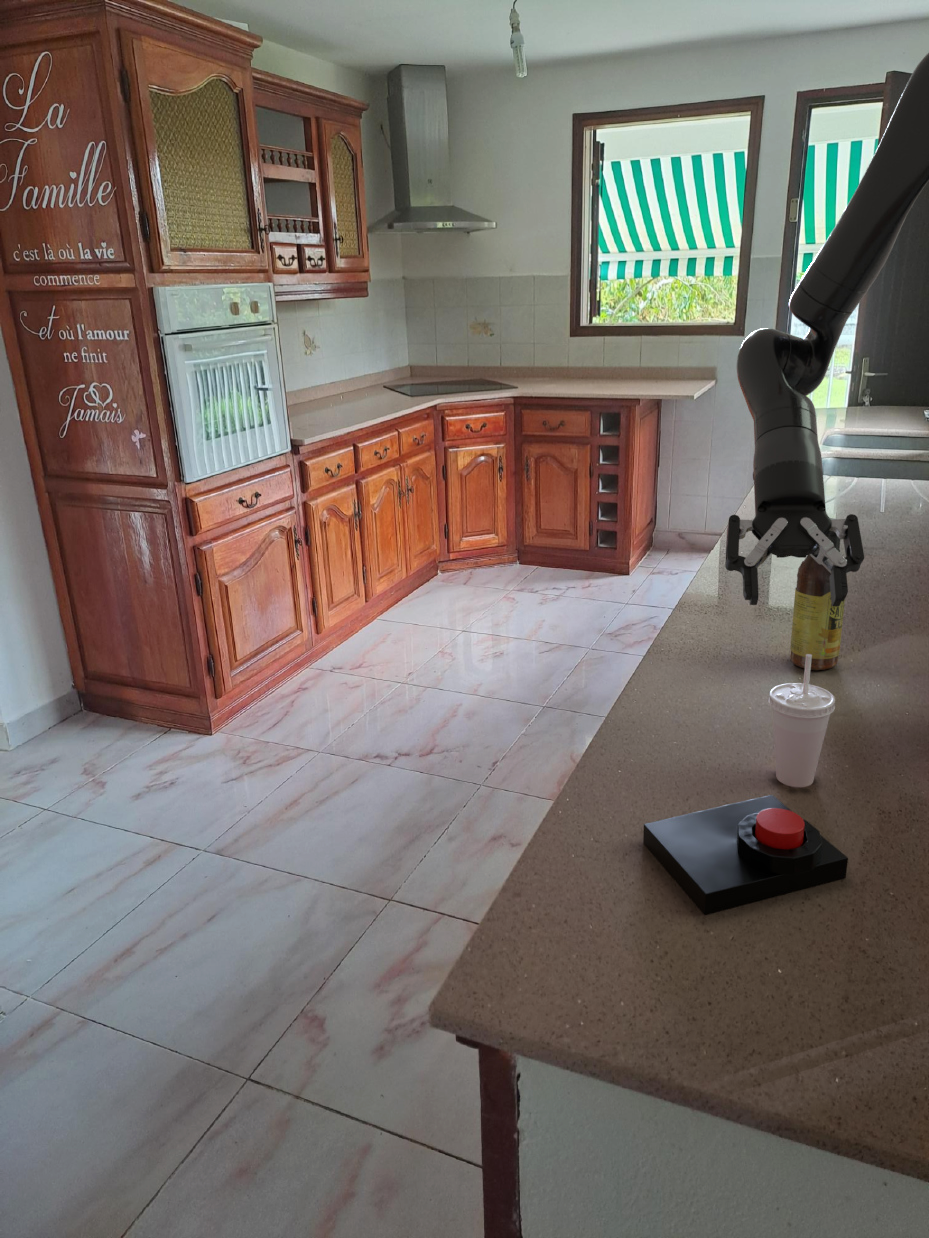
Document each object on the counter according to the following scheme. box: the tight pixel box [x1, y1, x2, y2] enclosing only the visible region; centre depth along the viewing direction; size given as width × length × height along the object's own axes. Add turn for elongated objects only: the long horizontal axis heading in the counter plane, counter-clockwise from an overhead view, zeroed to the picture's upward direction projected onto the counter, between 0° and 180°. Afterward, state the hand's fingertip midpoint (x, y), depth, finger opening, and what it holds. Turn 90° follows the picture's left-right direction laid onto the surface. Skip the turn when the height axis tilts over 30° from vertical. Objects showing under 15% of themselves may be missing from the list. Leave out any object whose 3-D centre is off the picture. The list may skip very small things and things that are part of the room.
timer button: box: [755, 808, 805, 850], centre depth 77 cm, size 4×4×2 cm
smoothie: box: [767, 654, 836, 788], centre depth 91 cm, size 6×6×14 cm
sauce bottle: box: [789, 517, 846, 671], centre depth 117 cm, size 6×6×20 cm
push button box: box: [642, 794, 849, 916], centre depth 80 cm, size 14×12×4 cm
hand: (795, 602), depth 95 cm, fingers open, 8 cm apart
